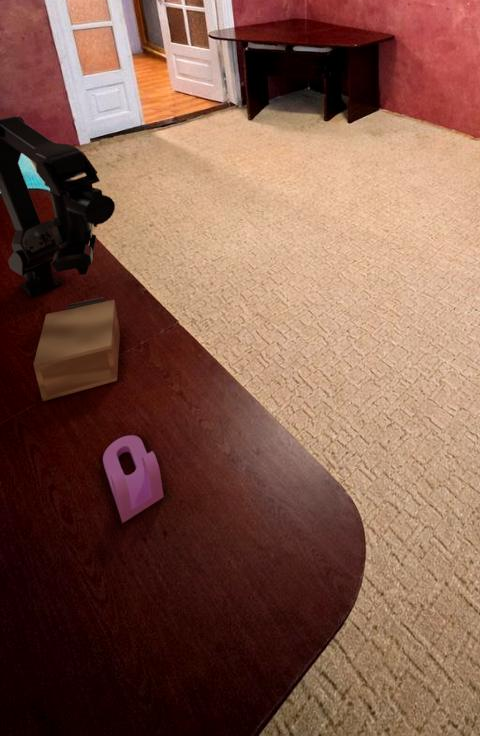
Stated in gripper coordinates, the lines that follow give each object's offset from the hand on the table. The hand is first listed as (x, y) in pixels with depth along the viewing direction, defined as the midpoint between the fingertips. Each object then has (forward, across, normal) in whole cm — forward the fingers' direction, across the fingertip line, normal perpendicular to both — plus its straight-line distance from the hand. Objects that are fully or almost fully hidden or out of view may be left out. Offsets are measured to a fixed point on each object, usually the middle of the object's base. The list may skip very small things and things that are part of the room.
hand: (83, 273), depth 103 cm
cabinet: (+11, +15, 0) cm, 19 cm away
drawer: (+10, +11, 0) cm, 15 cm away
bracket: (+11, +42, +8) cm, 45 cm away
